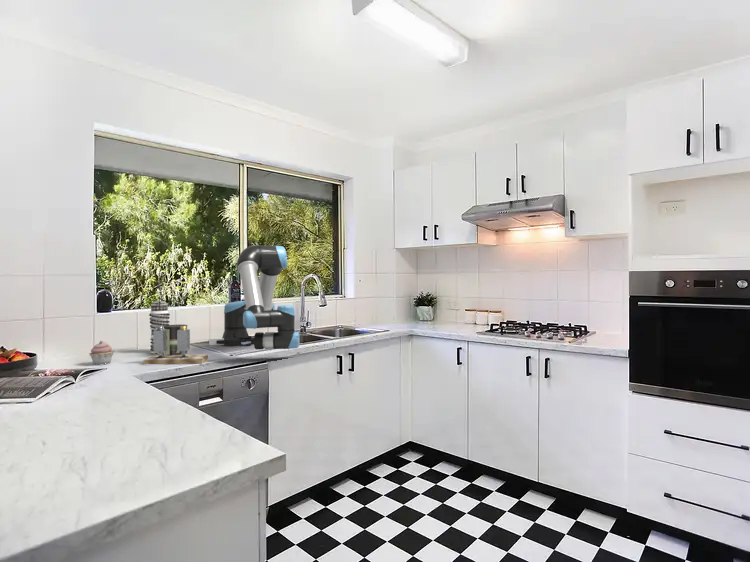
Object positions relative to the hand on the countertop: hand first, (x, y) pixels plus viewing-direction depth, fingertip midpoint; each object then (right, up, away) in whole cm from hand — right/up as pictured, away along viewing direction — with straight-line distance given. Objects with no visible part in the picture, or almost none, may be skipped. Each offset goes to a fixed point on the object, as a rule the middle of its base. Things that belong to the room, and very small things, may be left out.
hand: (209, 341), depth 196 cm
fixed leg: (-21, -7, -2) cm, 22 cm away
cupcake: (-45, -9, -4) cm, 46 cm away
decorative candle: (-33, -9, +24) cm, 42 cm away
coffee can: (-22, -9, +16) cm, 28 cm away
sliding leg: (-11, -6, -1) cm, 13 cm away
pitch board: (-14, -9, -1) cm, 16 cm away
